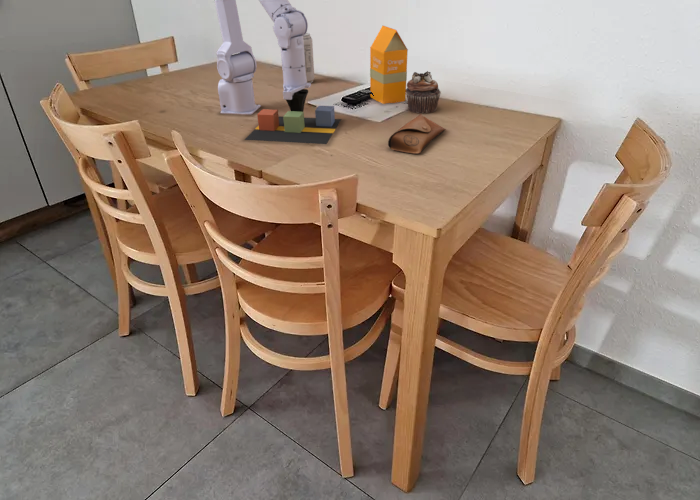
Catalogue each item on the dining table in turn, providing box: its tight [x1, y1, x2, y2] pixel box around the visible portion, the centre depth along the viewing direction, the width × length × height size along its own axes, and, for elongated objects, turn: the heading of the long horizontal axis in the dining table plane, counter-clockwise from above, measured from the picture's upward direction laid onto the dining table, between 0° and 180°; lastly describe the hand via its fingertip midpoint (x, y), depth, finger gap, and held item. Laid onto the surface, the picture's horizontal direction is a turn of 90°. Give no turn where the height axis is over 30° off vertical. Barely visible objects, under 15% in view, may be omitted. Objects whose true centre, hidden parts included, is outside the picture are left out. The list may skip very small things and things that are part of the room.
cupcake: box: [406, 70, 442, 114], centre depth 137 cm, size 10×10×10 cm
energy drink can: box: [303, 32, 315, 84], centre depth 162 cm, size 6×6×15 cm
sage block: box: [282, 110, 305, 133], centre depth 126 cm, size 4×4×4 cm
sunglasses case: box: [387, 113, 446, 155], centre depth 120 cm, size 18×7×7 cm
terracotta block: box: [256, 108, 280, 131], centre depth 128 cm, size 4×4×4 cm
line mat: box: [244, 116, 342, 145], centre depth 128 cm, size 21×18×1 cm
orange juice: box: [369, 25, 409, 105], centre depth 143 cm, size 8×9×20 cm
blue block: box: [314, 105, 336, 127], centre depth 129 cm, size 4×4×4 cm
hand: (297, 119), depth 130 cm, fingers closed
